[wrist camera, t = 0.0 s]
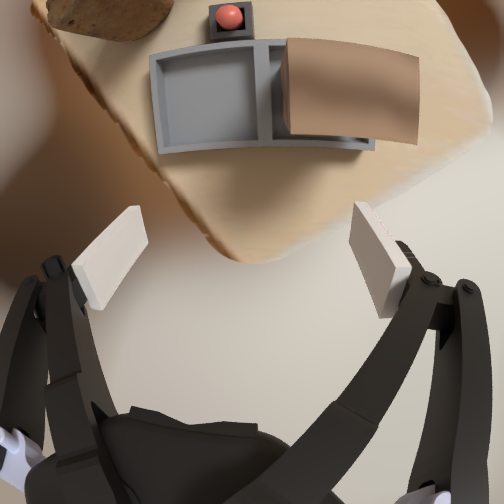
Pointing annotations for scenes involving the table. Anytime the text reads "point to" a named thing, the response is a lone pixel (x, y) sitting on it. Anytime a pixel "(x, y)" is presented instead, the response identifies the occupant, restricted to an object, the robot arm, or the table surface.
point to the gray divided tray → (227, 99)
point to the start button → (229, 17)
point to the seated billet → (349, 90)
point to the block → (108, 17)
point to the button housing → (237, 34)
